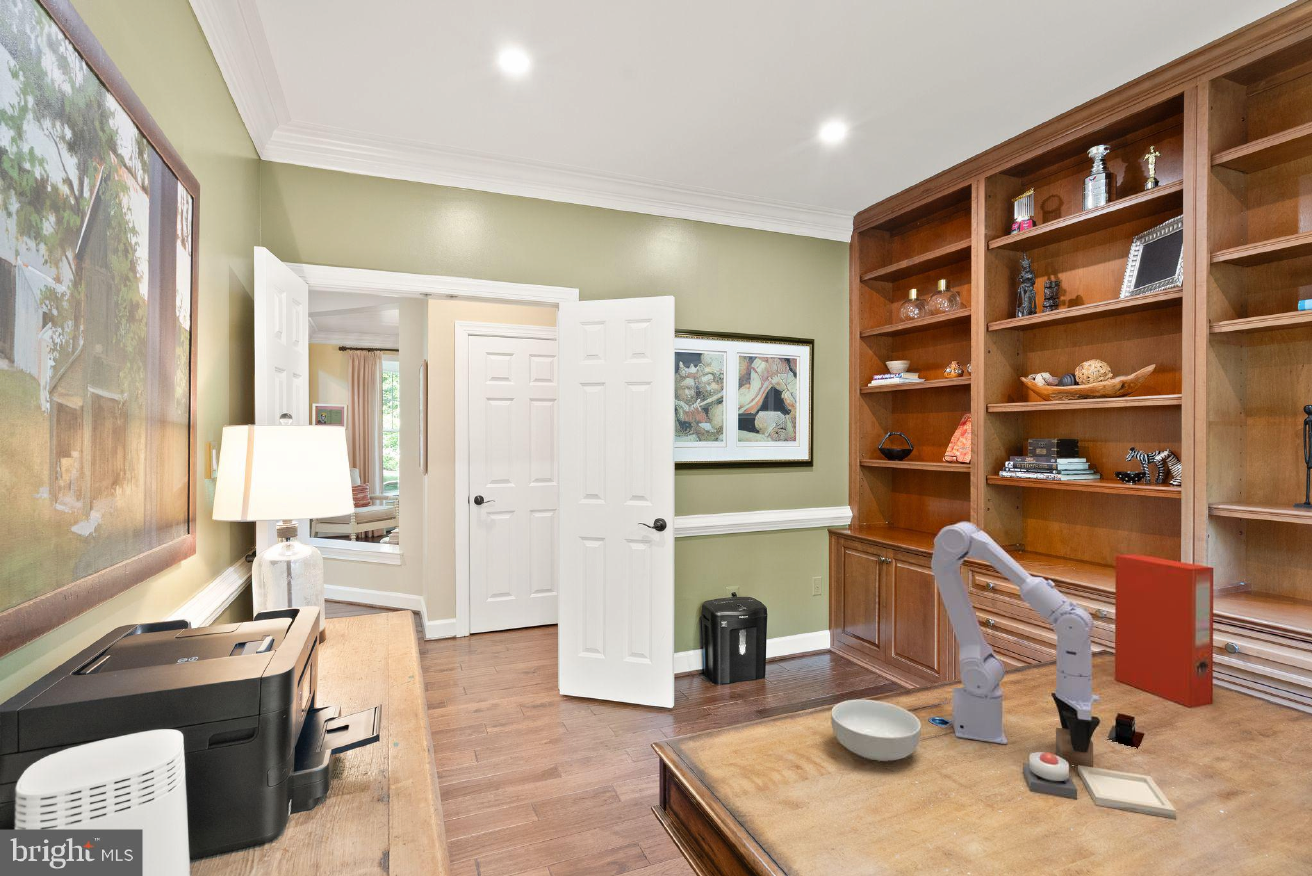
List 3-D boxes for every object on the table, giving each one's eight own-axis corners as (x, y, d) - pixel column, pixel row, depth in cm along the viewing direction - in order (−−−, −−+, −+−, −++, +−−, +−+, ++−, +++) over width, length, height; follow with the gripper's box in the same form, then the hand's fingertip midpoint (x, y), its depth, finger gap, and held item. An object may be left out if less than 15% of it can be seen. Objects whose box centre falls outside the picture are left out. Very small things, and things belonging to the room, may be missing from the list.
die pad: (1096, 804, 106) (1096, 796, 106) (1078, 772, 116) (1078, 764, 116) (1175, 818, 102) (1175, 810, 102) (1150, 784, 113) (1150, 776, 113)
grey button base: (1030, 790, 110) (1030, 781, 110) (1022, 770, 117) (1022, 762, 117) (1077, 798, 108) (1077, 789, 108) (1066, 778, 115) (1066, 769, 115)
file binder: (1137, 676, 163) (1137, 553, 163) (1213, 703, 147) (1213, 566, 147) (1114, 680, 161) (1114, 555, 161) (1189, 707, 144) (1189, 569, 144)
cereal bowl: (869, 781, 114) (869, 742, 114) (814, 740, 129) (814, 706, 129) (940, 763, 120) (940, 726, 120) (880, 726, 135) (879, 693, 135)
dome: (1033, 786, 111) (1033, 758, 111) (1026, 769, 116) (1026, 742, 116) (1072, 793, 109) (1072, 764, 109) (1064, 775, 114) (1064, 748, 114)
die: (1062, 764, 120) (1062, 738, 120) (1055, 752, 124) (1055, 726, 124) (1093, 769, 118) (1093, 742, 118) (1085, 756, 122) (1085, 730, 122)
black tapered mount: (1142, 756, 124) (1142, 733, 124) (1098, 744, 129) (1098, 721, 129) (1150, 734, 133) (1150, 712, 133) (1108, 723, 138) (1108, 703, 138)
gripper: (1110, 687, 113) (1111, 763, 113) (1087, 661, 126) (1088, 728, 126) (1065, 682, 115) (1065, 756, 115) (1047, 657, 129) (1047, 723, 129)
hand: (1074, 741), depth 121 cm, fingers open, 7 cm apart
